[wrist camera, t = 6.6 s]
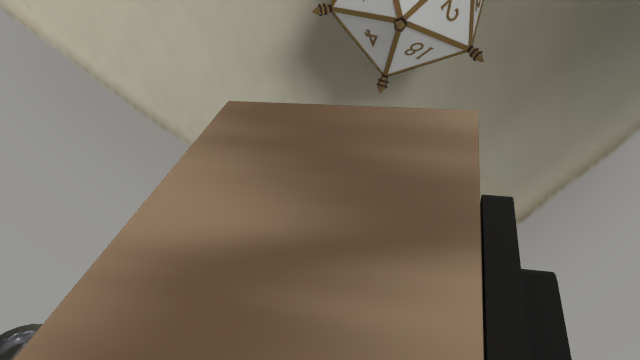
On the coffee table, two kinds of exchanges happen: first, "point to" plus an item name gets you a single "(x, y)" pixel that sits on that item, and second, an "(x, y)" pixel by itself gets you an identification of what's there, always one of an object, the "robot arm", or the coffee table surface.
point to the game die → (408, 31)
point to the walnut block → (294, 245)
